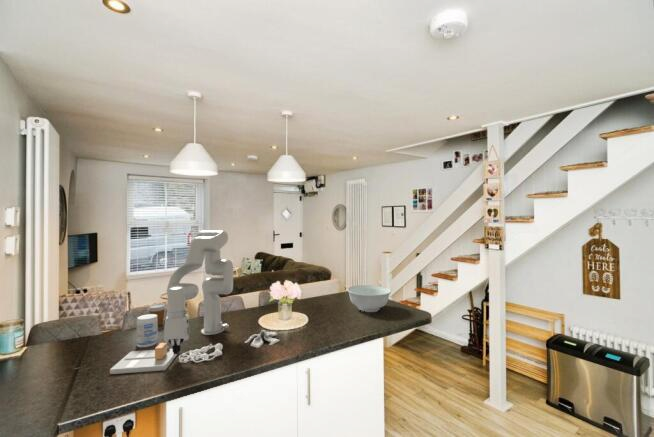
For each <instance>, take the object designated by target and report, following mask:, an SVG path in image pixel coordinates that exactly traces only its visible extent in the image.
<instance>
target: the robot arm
mask: <svg viewBox="0 0 654 437" xmlns="http://www.w3.org/2000/svg"><path fill="white" fill-rule="evenodd" d="M228 240H229V236H228V233H227V232H226V231H225V230H212V229H210V230H200V231H198V232H197V233H196V236H195V237H194V238H192V240H191V242H190V244H189V248H188V251H187V254H186V257H185V260H184V263H183V264H181V265H180V266H179V267H178V268H177V269H175V271H174V272H173V273H172V274H171V276H170V279H169V281H168V284H167V289H166V296H167V316H166V318H165V322H164V326H163V327H164V329H163V341H164V343H169V344H171V346H172V349H173V352H174V354H177V355H178V354H180V352H181V345H182V343H183V342H184V341H188V340H190V337H189V335H190V325H189V324H190V323H189V318H188V317H189V316H188V314H189V312H190V311H189V310H187V309H186V301H188V300H192V299H195V298H196V297H197V296H198V294H199V291H200V290H199V286H198V285H197V284H196V283H191V282H190V283H186V282H185V283H183V282H182V283H180V282H181V280H182V278H183V277H185V276H186V275H189V273H192V272H194V271H196V270H199V269H200V268H202V266H203V264H204V271H205V274H206V275H208V276H214V277H207V278H205V279H204V280H203V281H202V283H201V289H202V290H201V291H202V295H203V328H202V329H200V334H202V335H205V336H212V335H218V334H220V333H222V332H224V330H225V329H229V324H228V323H223V321H222V300H221V297H220V296H219V295H229V294H231V293H232V292H233V290H234V263H233V262H232V260H231V259H228V258H227V259H225V258H221V249H222V248H223V247H224V246H226V244H227V243H228ZM215 276H222V277H215Z"/></svg>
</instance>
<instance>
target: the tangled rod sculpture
mask: <svg viewBox="0 0 654 437" xmlns="http://www.w3.org/2000/svg"><path fill="white" fill-rule="evenodd" d="M223 346H224V345H223V344H222V343H221V342H218V343H216V344H214V345H213V344H212V343H210V344H209V345H207V346H203V347H201V348H199V349H198V348H196V349H193V350H192V349H191V350H189V351H186V352H183V353H182V354H180V355H179V356H178V359H179V360H178V361H179V363H184V364H186V363H187V362H190V361H191V362H194V363H201V362H204V361H212V360H214V359H215V358H216V357H217V358H218V357H220V356H222V355H223V351H222V350H223V348H224V347H223ZM212 348H214V352H211V353H210V354H208V353H207V352H208V351H209V350H210V349H212ZM188 354H189V355H188ZM211 356H213V357H211ZM210 357H211V358H210ZM199 359H201V360H199Z"/></svg>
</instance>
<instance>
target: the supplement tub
mask: <svg viewBox="0 0 654 437" xmlns="http://www.w3.org/2000/svg"><path fill="white" fill-rule="evenodd" d="M158 327H159V326H158V318H157V315H156V314H149V313H148V314H142V315H140V316H137V318H136V346H137V347H138V348H148V347H152V346H154V345H156V344H157V343H158V330H159V328H158Z"/></svg>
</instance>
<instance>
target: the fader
mask: <svg viewBox="0 0 654 437" xmlns="http://www.w3.org/2000/svg"><path fill="white" fill-rule="evenodd" d="M167 347H168V342H159V344H158V345H157V346H156V347H155V348H154V350H155V359H162V358H163V357H164V356H165V355H166V354H167Z"/></svg>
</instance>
